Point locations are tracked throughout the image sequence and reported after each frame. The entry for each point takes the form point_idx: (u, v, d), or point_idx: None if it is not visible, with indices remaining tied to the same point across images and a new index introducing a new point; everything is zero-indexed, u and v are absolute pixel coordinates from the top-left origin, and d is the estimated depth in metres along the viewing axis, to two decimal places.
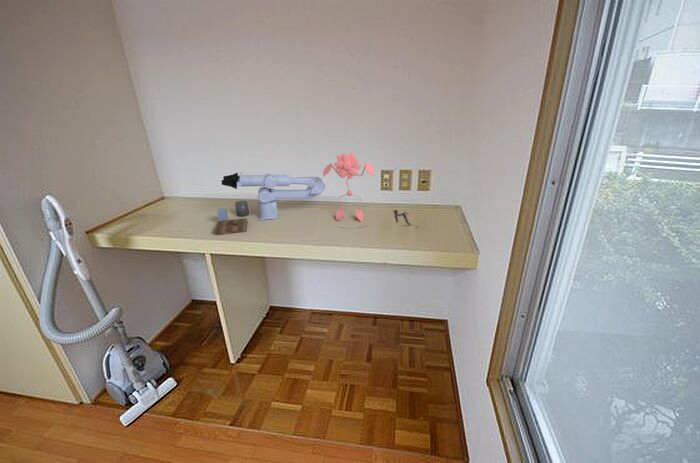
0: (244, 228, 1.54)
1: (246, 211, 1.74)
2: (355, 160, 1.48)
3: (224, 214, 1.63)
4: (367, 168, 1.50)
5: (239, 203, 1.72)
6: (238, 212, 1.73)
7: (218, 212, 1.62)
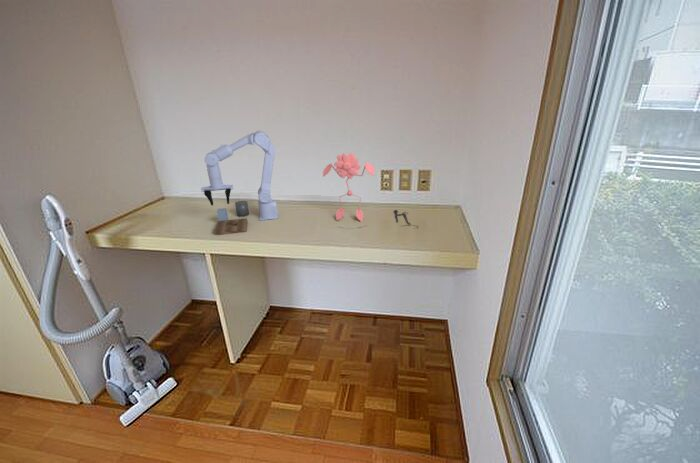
0: (244, 228, 1.54)
1: (246, 211, 1.74)
2: (355, 160, 1.48)
3: (224, 214, 1.63)
4: (367, 168, 1.50)
5: (239, 203, 1.72)
6: (238, 212, 1.73)
7: (218, 212, 1.62)
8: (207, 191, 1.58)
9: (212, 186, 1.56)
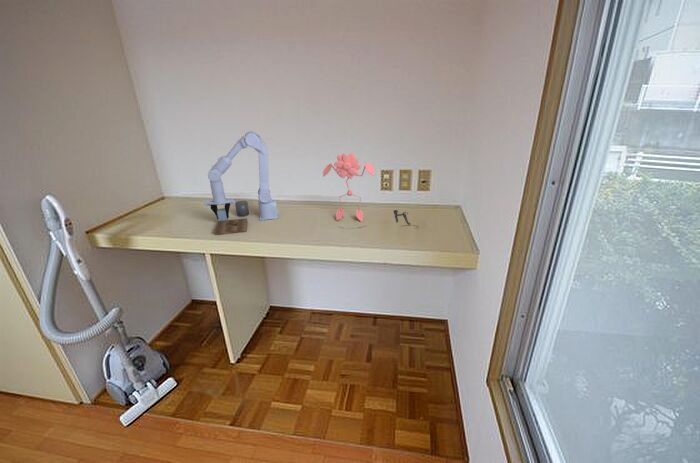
0: (244, 228, 1.54)
1: (246, 211, 1.74)
2: (355, 160, 1.48)
3: (224, 214, 1.63)
4: (367, 168, 1.50)
5: (239, 203, 1.72)
6: (238, 212, 1.73)
7: (218, 212, 1.62)
8: None
9: (215, 201, 1.59)
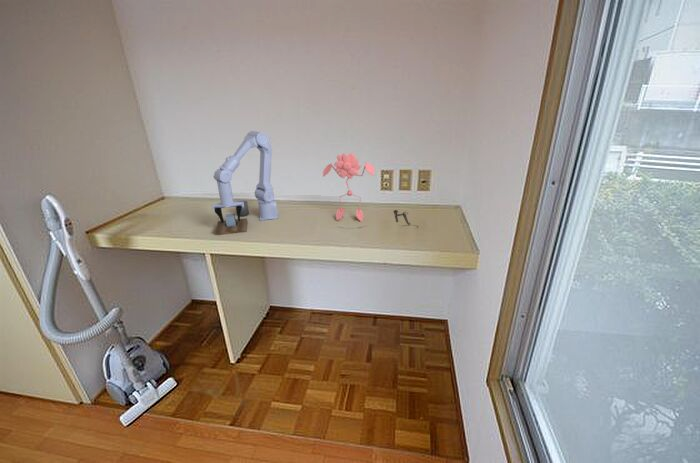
0: (244, 228, 1.54)
1: (246, 211, 1.74)
2: (355, 160, 1.48)
3: (233, 220, 1.55)
4: (367, 168, 1.50)
5: None
6: None
7: (226, 218, 1.54)
8: (217, 208, 1.52)
9: (223, 203, 1.51)
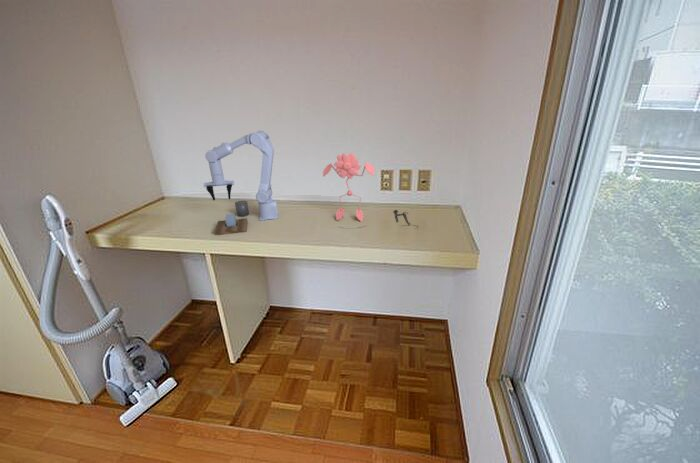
0: (244, 228, 1.54)
1: (246, 211, 1.74)
2: (355, 160, 1.48)
3: (233, 220, 1.55)
4: (367, 168, 1.50)
5: (239, 203, 1.72)
6: (238, 212, 1.73)
7: (226, 218, 1.54)
8: (209, 186, 1.64)
9: (214, 182, 1.62)
